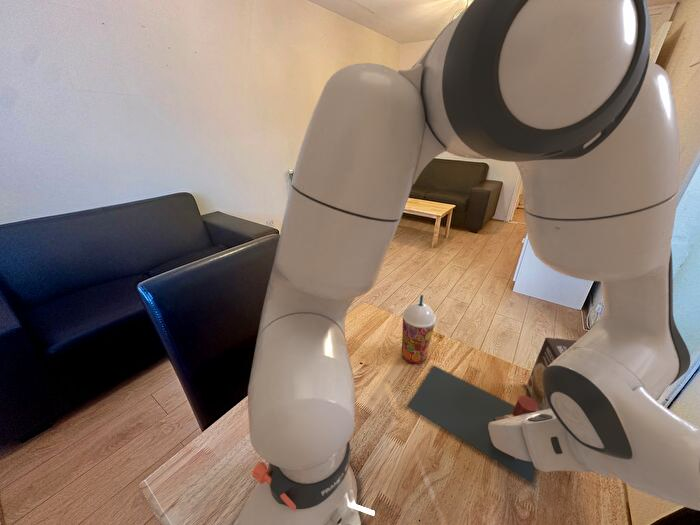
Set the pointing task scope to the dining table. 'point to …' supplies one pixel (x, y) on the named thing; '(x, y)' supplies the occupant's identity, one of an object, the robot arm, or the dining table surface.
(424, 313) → the smoothie
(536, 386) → the coffee box
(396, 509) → the dining table surface
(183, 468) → the dining table surface
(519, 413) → the red cylinder on base
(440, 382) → the mat
